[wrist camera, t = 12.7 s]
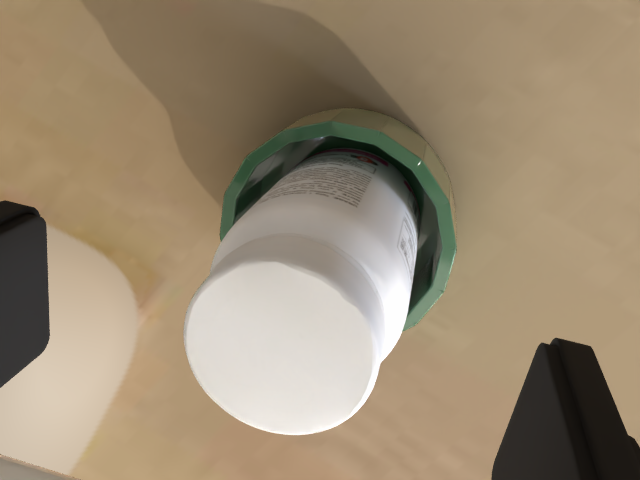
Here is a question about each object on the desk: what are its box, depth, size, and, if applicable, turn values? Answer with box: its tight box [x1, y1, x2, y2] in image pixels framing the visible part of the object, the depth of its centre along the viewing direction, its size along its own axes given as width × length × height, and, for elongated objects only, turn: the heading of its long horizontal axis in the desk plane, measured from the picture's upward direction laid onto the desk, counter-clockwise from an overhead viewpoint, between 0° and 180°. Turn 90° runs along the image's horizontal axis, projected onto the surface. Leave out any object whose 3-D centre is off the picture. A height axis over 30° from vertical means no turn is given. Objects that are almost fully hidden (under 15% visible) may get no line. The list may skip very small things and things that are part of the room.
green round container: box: [220, 108, 457, 332], centre depth 18 cm, size 7×7×3 cm
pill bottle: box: [184, 148, 420, 435], centre depth 15 cm, size 5×5×8 cm
